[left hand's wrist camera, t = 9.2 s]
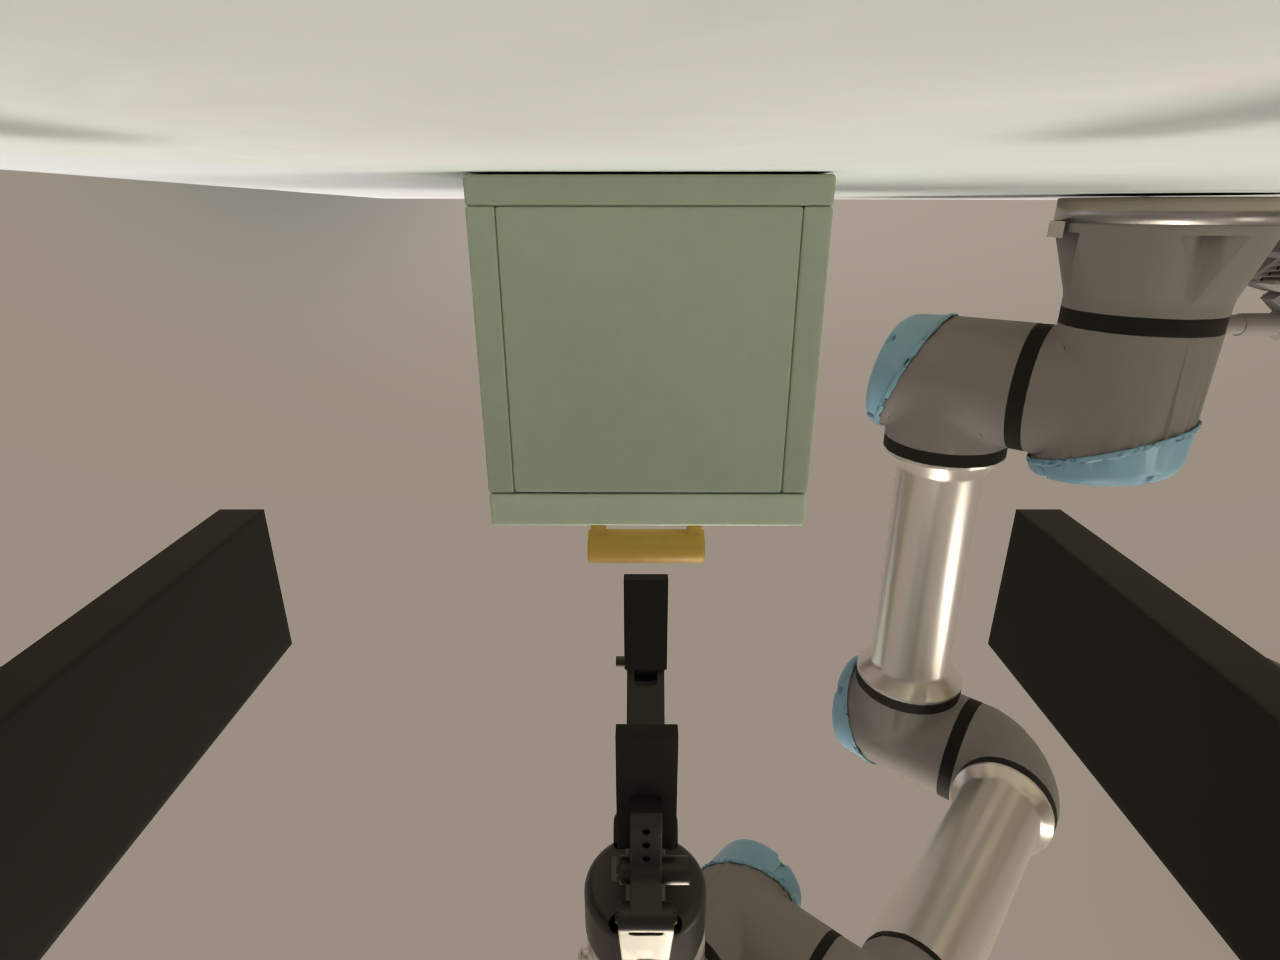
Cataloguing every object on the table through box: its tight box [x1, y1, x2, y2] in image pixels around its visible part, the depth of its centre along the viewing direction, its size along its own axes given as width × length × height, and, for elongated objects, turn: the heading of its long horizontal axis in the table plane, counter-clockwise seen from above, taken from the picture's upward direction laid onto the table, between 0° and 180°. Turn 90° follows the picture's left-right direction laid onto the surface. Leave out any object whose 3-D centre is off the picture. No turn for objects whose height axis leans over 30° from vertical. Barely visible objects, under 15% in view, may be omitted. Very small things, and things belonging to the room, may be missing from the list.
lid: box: [490, 490, 806, 563], centre depth 30 cm, size 14×10×8 cm
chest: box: [463, 174, 836, 492], centre depth 27 cm, size 13×10×9 cm
